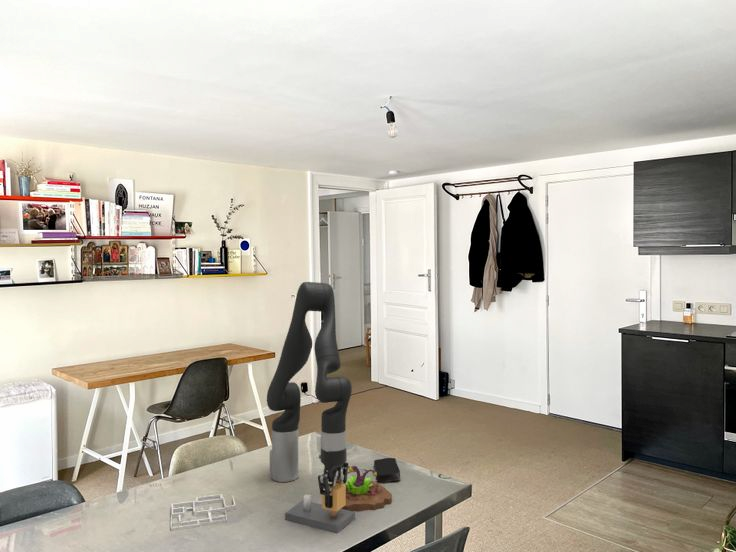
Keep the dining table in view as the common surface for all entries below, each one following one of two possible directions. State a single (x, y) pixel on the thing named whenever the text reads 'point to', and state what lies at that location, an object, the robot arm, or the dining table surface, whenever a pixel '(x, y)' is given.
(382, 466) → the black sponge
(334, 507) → the pale orange cube
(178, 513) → the floor plan model
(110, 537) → the dining table surface
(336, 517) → the board
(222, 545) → the dining table surface
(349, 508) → the plant
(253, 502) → the dining table surface
